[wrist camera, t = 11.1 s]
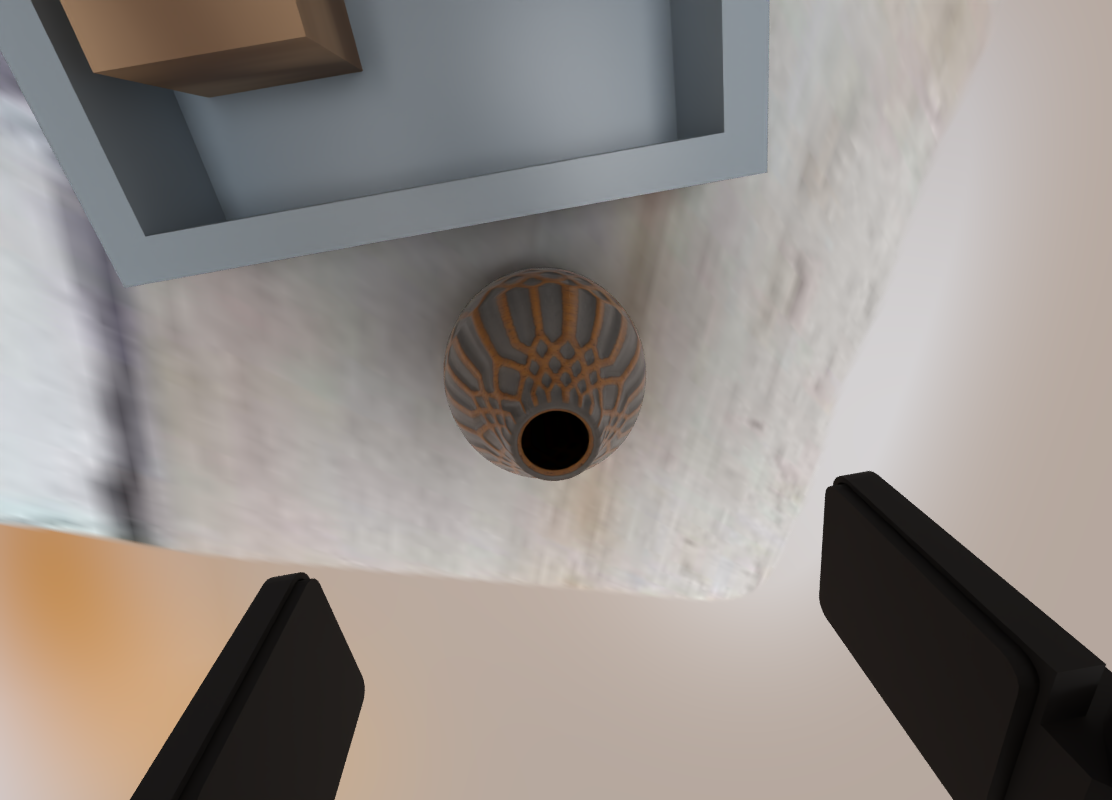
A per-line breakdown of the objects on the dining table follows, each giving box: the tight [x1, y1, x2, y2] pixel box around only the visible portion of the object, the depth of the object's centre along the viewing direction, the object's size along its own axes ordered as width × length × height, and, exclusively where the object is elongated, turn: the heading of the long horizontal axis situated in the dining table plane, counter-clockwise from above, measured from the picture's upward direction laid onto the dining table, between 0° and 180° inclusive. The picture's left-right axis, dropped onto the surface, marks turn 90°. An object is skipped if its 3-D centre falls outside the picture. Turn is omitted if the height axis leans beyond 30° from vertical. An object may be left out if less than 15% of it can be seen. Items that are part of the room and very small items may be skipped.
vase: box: [444, 268, 646, 481], centre depth 17 cm, size 7×7×9 cm
